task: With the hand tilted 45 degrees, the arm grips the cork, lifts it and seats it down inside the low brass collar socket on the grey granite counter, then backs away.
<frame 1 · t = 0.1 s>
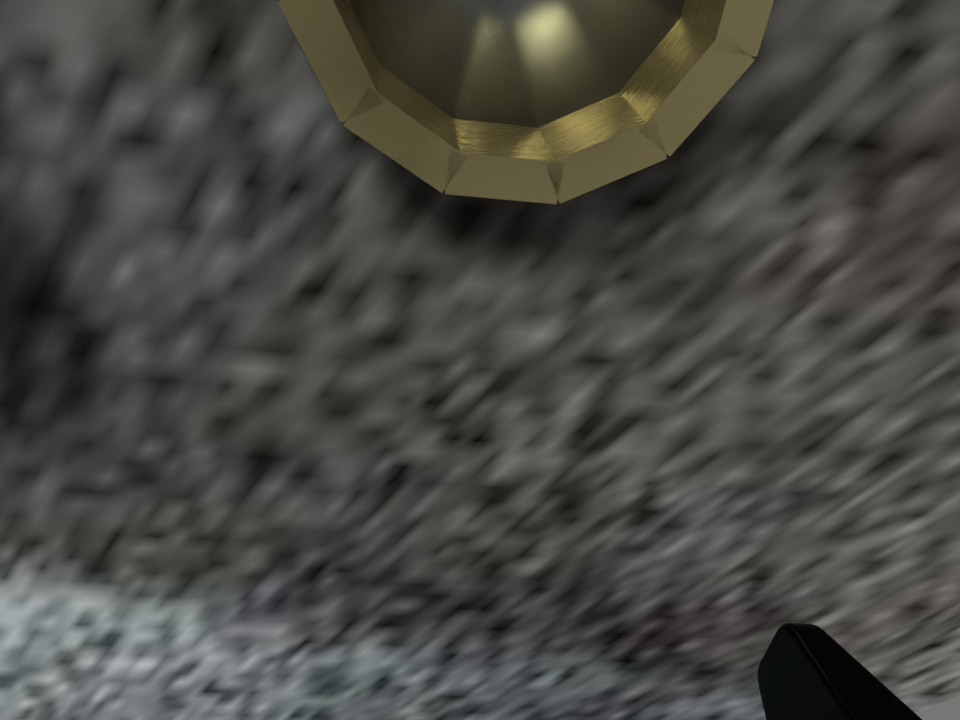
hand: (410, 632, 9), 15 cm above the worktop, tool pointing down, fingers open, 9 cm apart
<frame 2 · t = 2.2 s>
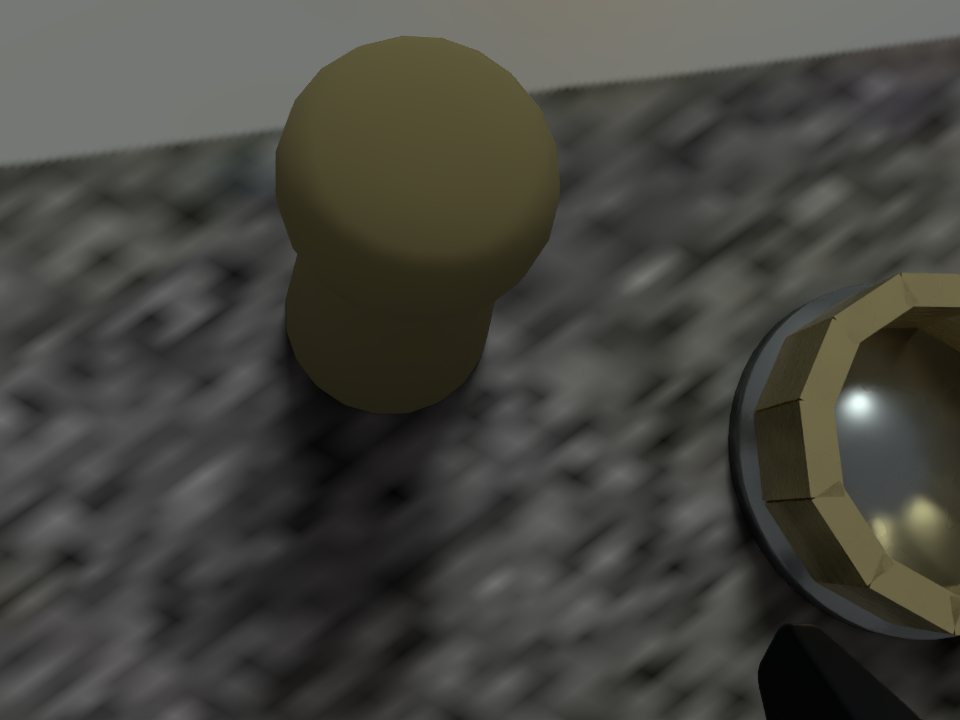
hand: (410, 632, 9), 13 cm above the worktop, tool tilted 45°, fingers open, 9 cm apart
cork: (389, 315, 24), on the worktop
collar socket: (890, 455, 26), on the worktop
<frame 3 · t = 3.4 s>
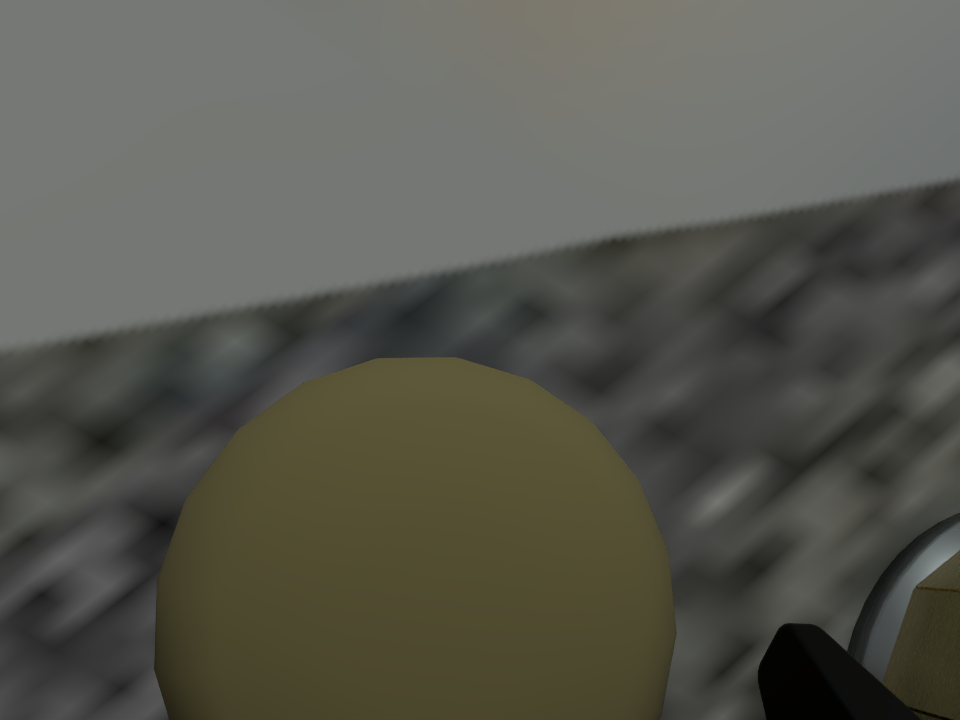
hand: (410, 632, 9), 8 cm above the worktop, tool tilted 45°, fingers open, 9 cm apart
cork: (377, 570, 17), on the worktop
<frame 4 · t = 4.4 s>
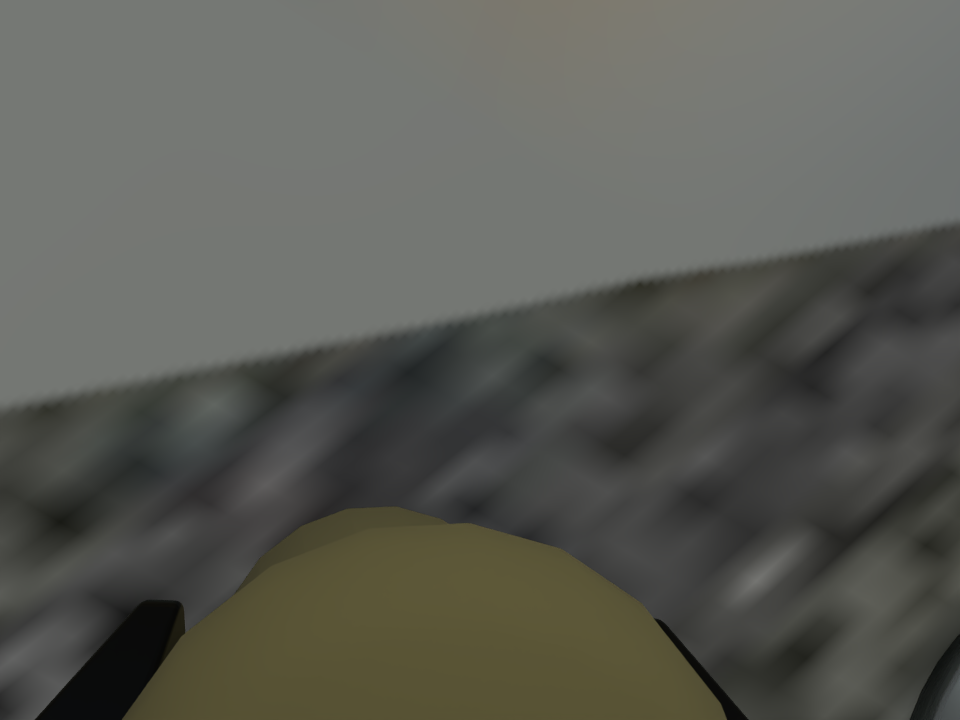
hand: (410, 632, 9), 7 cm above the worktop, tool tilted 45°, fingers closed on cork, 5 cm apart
cork: (375, 665, 15), on the worktop, touching gripper
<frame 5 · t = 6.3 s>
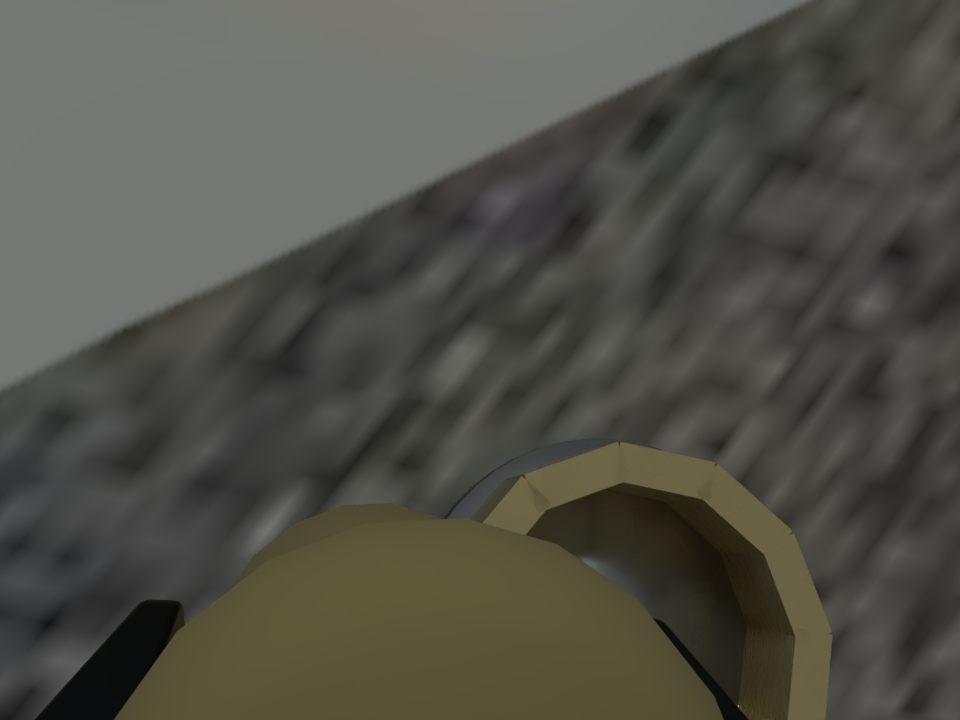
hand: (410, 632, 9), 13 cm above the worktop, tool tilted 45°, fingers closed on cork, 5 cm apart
cork: (370, 661, 15), point 6 cm above the worktop, touching gripper
collar socket: (598, 635, 23), on the worktop
when the fingers open (8 cm above the worktop, at t = 8.0 s): cork stays where it is, resting on collar socket.
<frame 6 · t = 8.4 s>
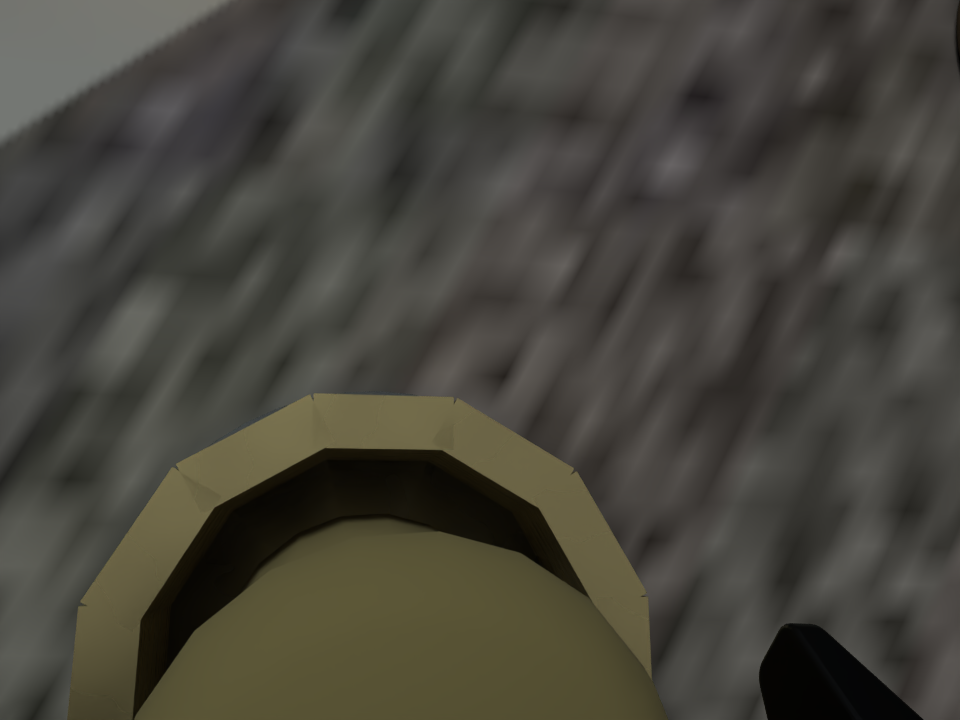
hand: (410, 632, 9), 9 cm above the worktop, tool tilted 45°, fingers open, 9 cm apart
cork: (368, 662, 16), point 1 cm above the worktop, touching collar socket
collar socket: (370, 651, 17), on the worktop
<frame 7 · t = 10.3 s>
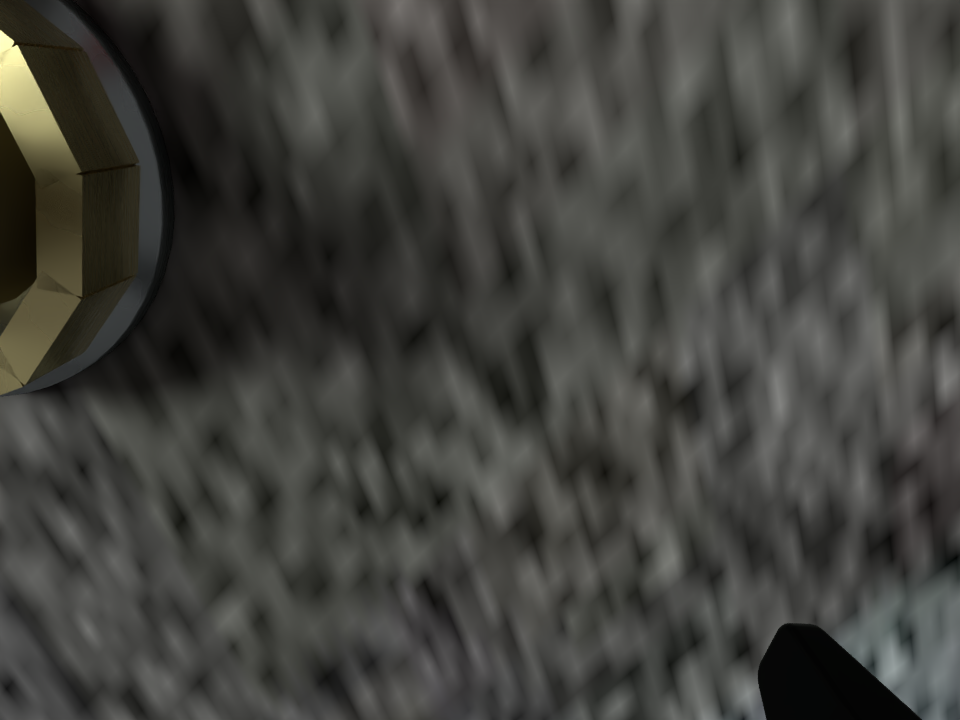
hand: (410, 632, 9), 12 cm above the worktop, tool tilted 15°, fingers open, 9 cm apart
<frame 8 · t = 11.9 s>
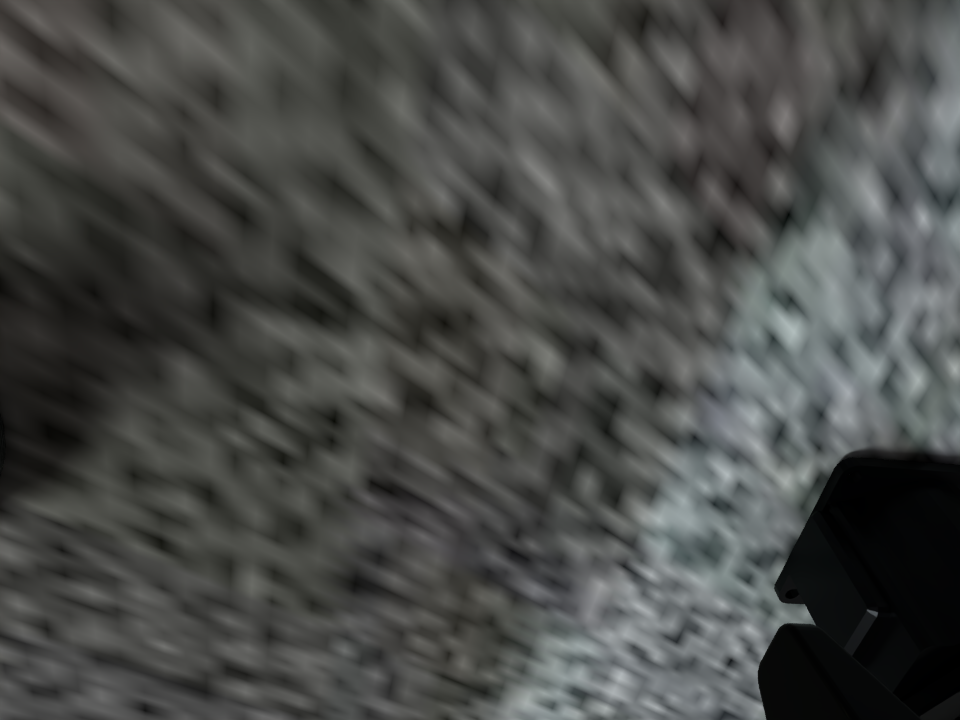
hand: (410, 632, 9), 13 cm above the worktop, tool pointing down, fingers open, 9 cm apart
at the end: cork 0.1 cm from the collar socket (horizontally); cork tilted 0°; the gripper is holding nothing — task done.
